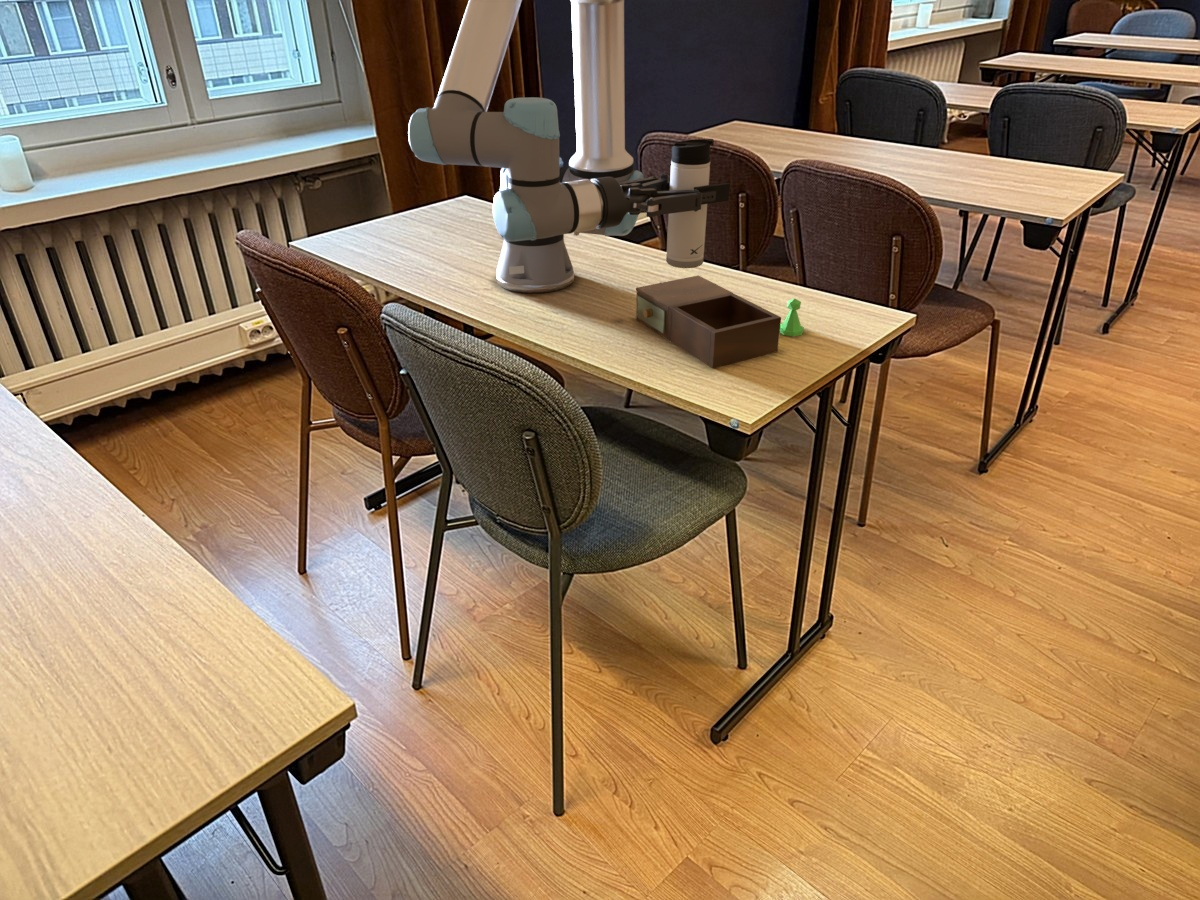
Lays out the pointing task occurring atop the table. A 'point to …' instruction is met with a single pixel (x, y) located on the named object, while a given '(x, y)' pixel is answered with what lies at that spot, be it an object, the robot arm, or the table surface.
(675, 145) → the travel mug
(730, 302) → the storage box
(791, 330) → the game piece
